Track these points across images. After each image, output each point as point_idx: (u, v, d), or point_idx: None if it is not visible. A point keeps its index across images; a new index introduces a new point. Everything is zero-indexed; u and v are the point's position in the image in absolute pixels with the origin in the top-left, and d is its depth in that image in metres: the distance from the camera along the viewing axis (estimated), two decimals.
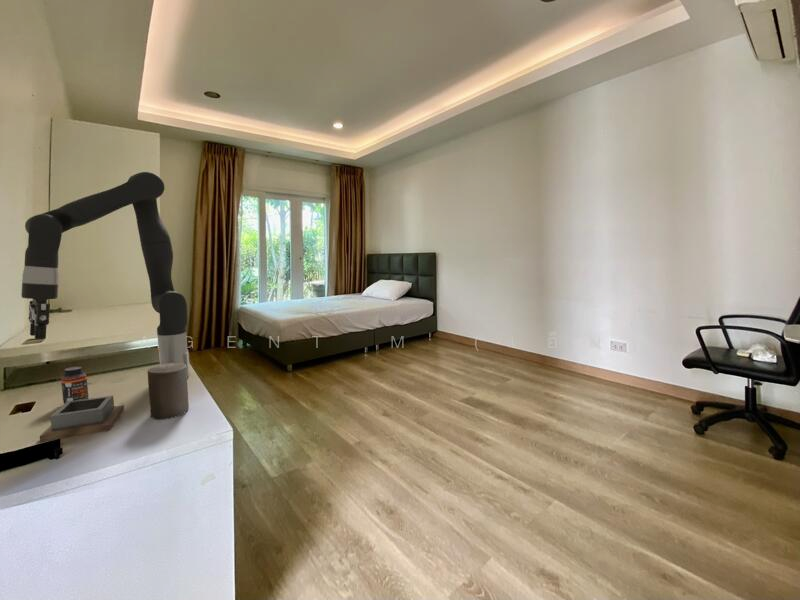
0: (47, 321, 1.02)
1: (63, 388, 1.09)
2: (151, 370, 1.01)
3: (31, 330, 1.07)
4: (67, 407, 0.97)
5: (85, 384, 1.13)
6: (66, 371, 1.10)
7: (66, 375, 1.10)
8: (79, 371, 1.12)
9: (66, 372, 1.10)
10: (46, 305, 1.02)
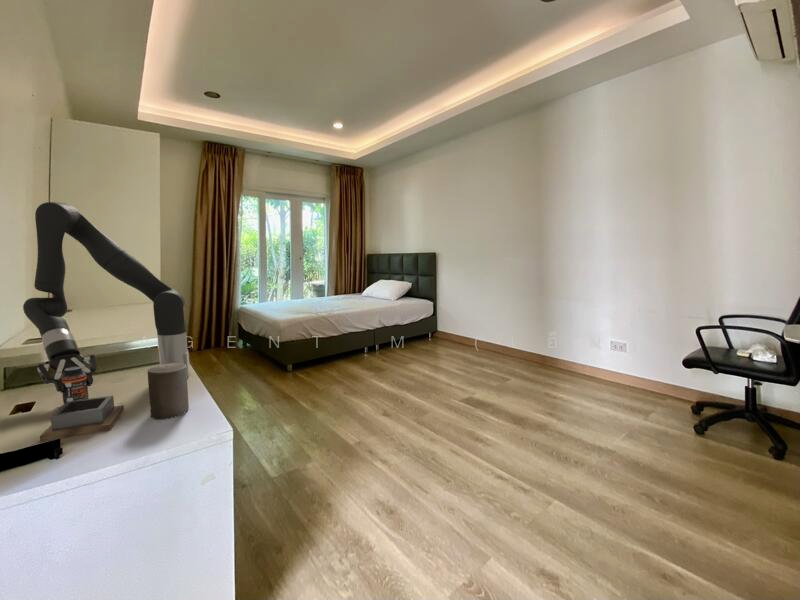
0: None
1: None
2: (151, 370, 1.01)
3: None
4: (67, 407, 0.97)
5: (85, 384, 1.13)
6: (66, 371, 1.10)
7: (66, 375, 1.10)
8: (79, 371, 1.11)
9: (66, 372, 1.10)
10: (38, 367, 1.08)
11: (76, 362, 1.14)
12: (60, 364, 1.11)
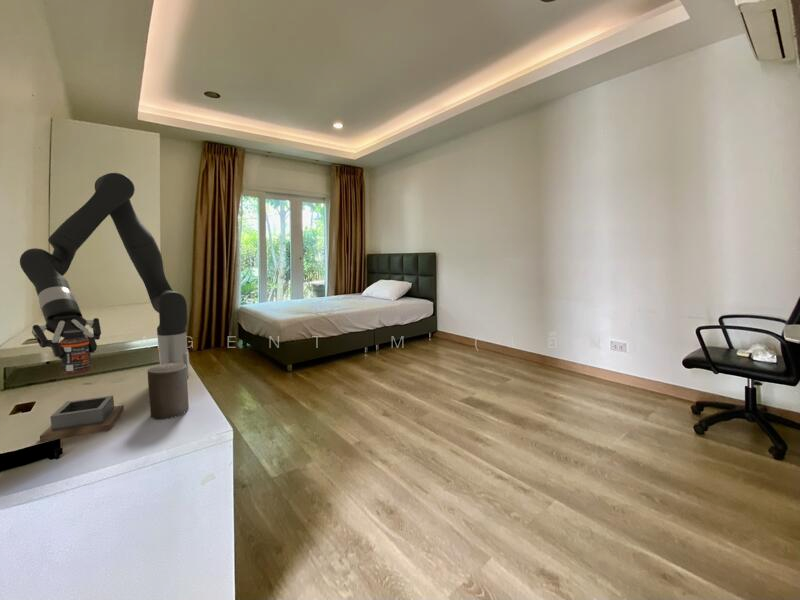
0: None
1: None
2: (151, 370, 1.01)
3: None
4: (67, 407, 0.97)
5: (87, 350, 0.97)
6: (65, 333, 0.94)
7: (65, 338, 0.94)
8: (80, 334, 0.96)
9: (65, 335, 0.94)
10: (32, 328, 0.93)
11: (77, 325, 0.98)
12: (59, 326, 0.95)
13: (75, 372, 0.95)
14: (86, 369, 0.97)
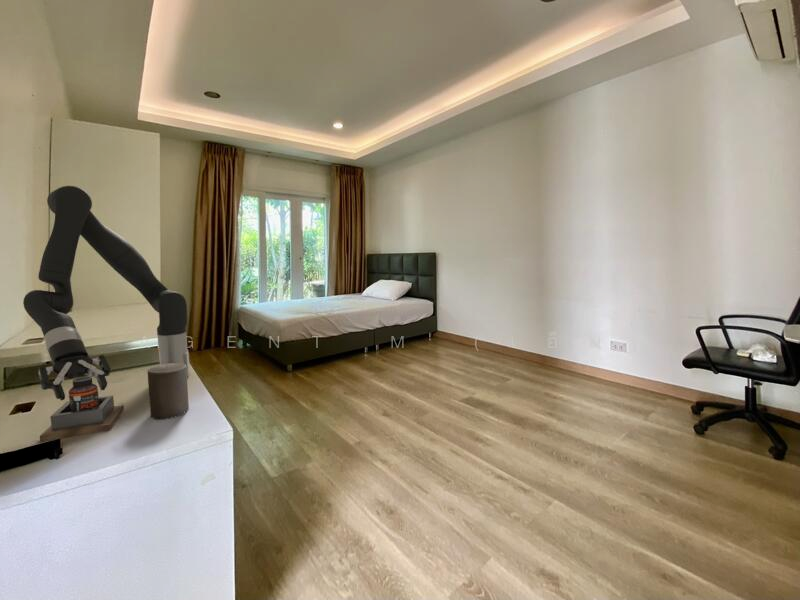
0: None
1: (71, 402, 0.95)
2: (151, 370, 1.01)
3: None
4: (67, 407, 0.97)
5: (96, 397, 0.98)
6: (74, 382, 0.95)
7: (74, 387, 0.95)
8: (89, 382, 0.97)
9: (74, 383, 0.95)
10: (39, 369, 0.94)
11: (85, 365, 1.00)
12: (64, 367, 0.96)
13: None
14: None
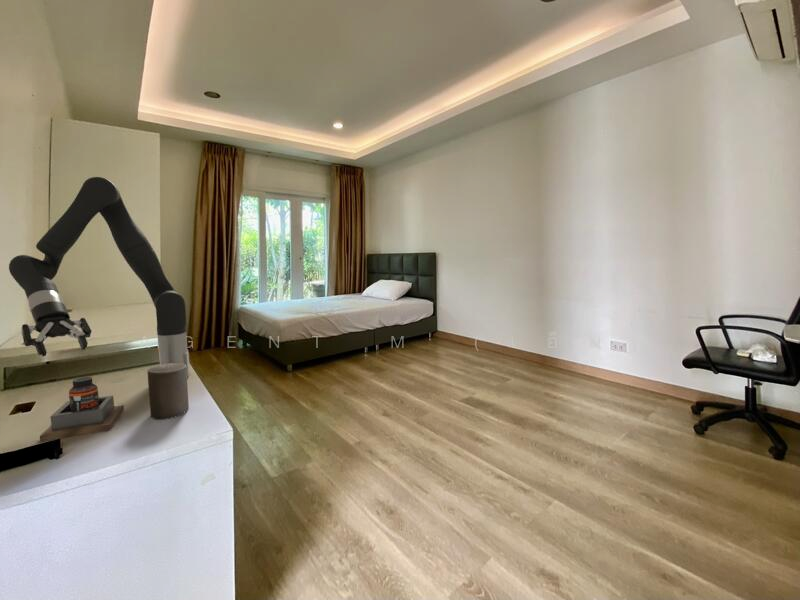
0: None
1: (71, 402, 0.95)
2: (151, 370, 1.01)
3: (80, 345, 1.06)
4: (67, 407, 0.97)
5: (96, 397, 0.98)
6: (74, 382, 0.95)
7: (74, 387, 0.95)
8: (89, 382, 0.97)
9: (74, 383, 0.95)
10: (22, 327, 0.99)
11: (66, 325, 1.05)
12: (46, 326, 1.02)
13: None
14: None
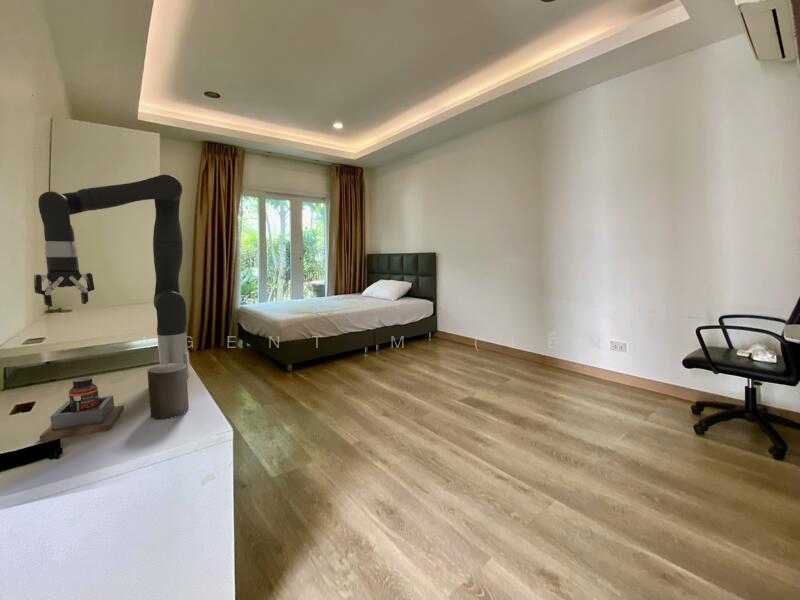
0: None
1: (71, 402, 0.95)
2: (151, 370, 1.01)
3: (81, 299, 1.21)
4: (67, 407, 0.97)
5: (96, 397, 0.98)
6: (75, 382, 0.95)
7: (75, 387, 0.95)
8: (89, 382, 0.97)
9: (75, 383, 0.95)
10: (35, 276, 1.11)
11: (74, 281, 1.17)
12: (57, 281, 1.14)
13: None
14: None
